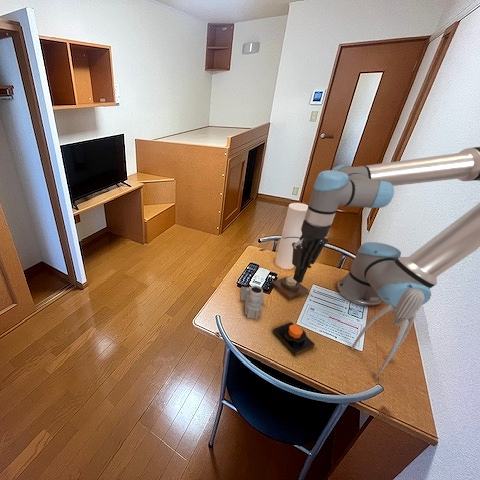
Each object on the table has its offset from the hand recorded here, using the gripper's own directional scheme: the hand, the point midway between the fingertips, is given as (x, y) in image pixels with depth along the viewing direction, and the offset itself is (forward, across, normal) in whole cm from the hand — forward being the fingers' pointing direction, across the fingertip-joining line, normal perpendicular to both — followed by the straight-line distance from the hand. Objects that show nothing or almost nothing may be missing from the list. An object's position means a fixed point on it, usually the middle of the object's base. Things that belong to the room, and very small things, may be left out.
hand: (297, 280), depth 93 cm
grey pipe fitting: (+15, +11, -7) cm, 20 cm away
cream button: (+11, -9, -9) cm, 17 cm away
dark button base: (+15, +8, +12) cm, 21 cm away
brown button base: (+15, -9, -9) cm, 19 cm away
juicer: (+15, -10, +27) cm, 32 cm away
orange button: (+11, +8, +12) cm, 18 cm away
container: (+15, -20, -25) cm, 35 cm away
